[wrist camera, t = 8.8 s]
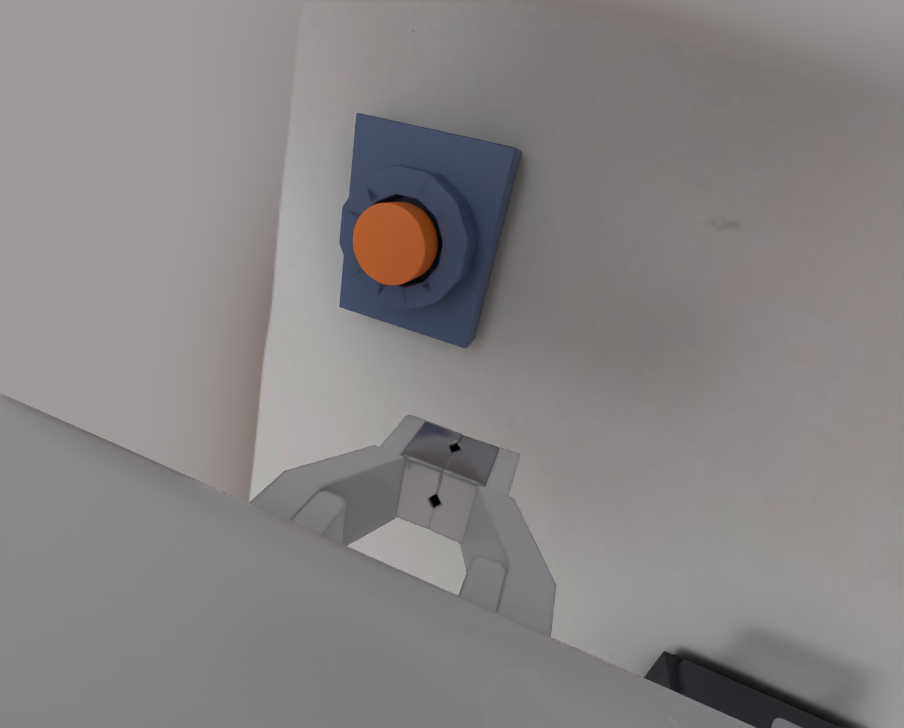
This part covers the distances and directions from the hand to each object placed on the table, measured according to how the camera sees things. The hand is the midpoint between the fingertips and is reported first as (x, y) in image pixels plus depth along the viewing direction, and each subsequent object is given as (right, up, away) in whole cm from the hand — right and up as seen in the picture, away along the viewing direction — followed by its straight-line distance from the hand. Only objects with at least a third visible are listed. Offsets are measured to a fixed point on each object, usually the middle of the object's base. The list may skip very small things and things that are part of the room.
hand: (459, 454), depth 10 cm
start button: (-3, +8, +9) cm, 13 cm away
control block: (-2, +9, +12) cm, 15 cm away
